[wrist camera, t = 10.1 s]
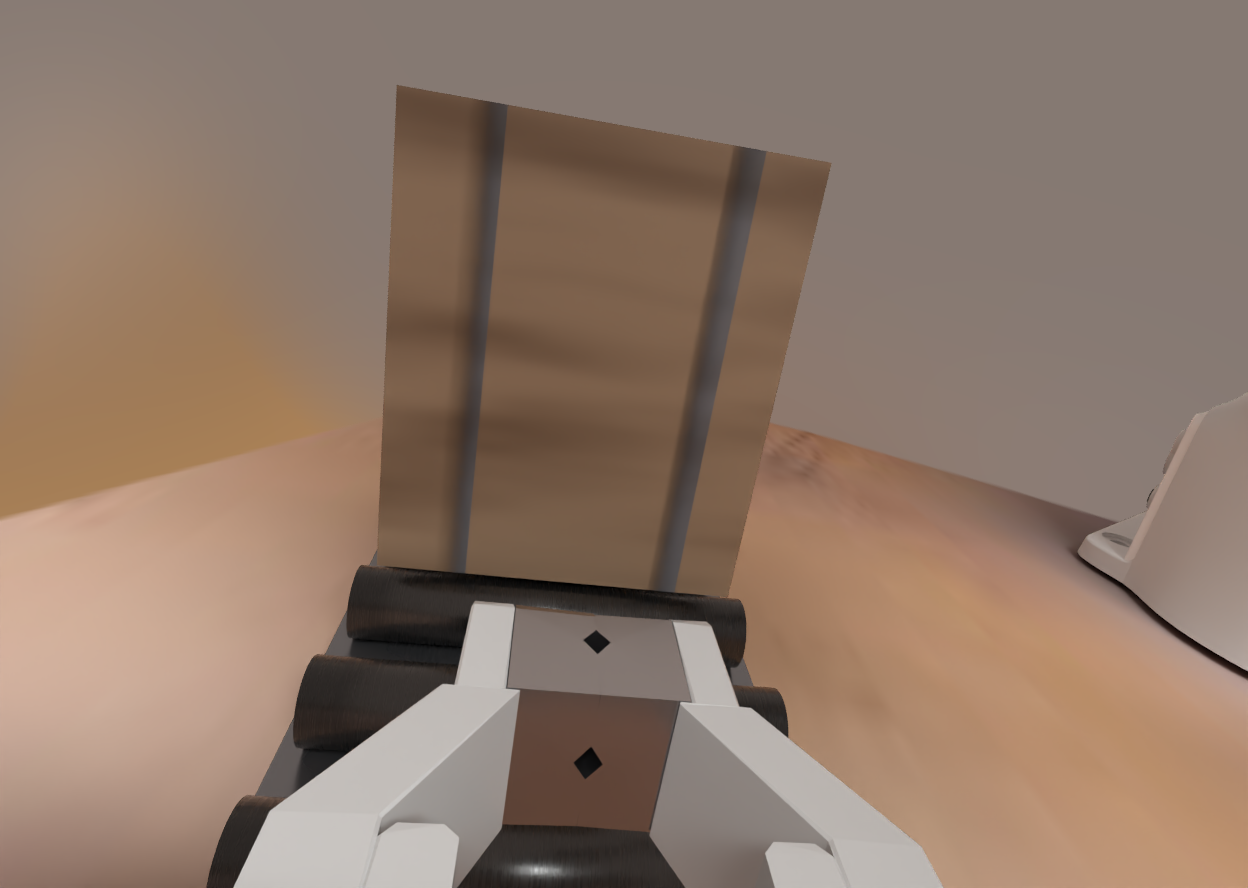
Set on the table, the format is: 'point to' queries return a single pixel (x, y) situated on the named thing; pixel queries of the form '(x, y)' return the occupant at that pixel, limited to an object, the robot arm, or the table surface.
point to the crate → (581, 343)
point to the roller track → (429, 656)
